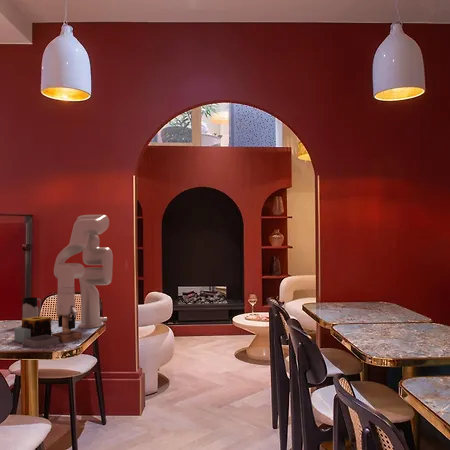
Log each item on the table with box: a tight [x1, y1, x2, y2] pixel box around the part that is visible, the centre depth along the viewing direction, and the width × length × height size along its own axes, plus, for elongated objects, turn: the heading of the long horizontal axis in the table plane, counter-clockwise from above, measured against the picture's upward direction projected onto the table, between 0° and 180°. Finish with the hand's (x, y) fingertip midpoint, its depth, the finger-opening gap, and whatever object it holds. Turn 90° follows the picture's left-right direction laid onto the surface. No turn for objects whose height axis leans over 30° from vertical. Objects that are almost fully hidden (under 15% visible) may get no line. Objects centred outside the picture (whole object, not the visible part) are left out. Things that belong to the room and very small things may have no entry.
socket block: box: [51, 330, 83, 344], centre depth 232 cm, size 10×10×3 cm
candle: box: [21, 315, 53, 337], centre depth 235 cm, size 10×10×10 cm
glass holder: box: [22, 297, 42, 319], centre depth 274 cm, size 9×14×15 cm, turn 167°
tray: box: [23, 334, 60, 349], centre depth 223 cm, size 11×11×3 cm
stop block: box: [13, 326, 31, 344], centre depth 230 cm, size 3×10×6 cm, turn 48°
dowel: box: [61, 315, 72, 335], centre depth 232 cm, size 4×4×12 cm
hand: (66, 327), depth 232 cm, fingers open, 8 cm apart
